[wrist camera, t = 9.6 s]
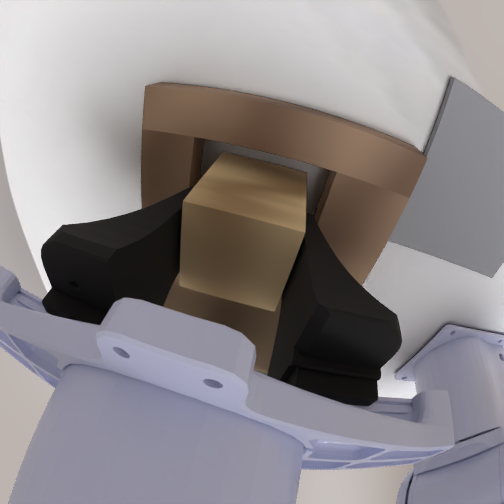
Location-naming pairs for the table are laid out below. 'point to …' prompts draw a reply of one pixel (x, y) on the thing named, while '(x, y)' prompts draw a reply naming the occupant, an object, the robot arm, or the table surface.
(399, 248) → the table surface
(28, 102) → the table surface
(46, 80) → the table surface
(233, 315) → the board
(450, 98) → the mat
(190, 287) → the block
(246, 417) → the robot arm
